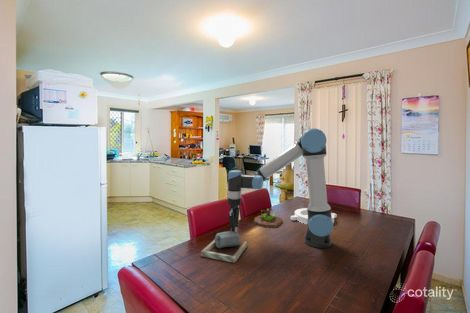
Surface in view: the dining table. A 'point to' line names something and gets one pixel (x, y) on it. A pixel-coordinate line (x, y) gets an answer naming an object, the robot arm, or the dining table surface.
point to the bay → (219, 256)
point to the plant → (268, 220)
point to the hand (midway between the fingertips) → (233, 238)
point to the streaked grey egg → (227, 239)
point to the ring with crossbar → (305, 216)
